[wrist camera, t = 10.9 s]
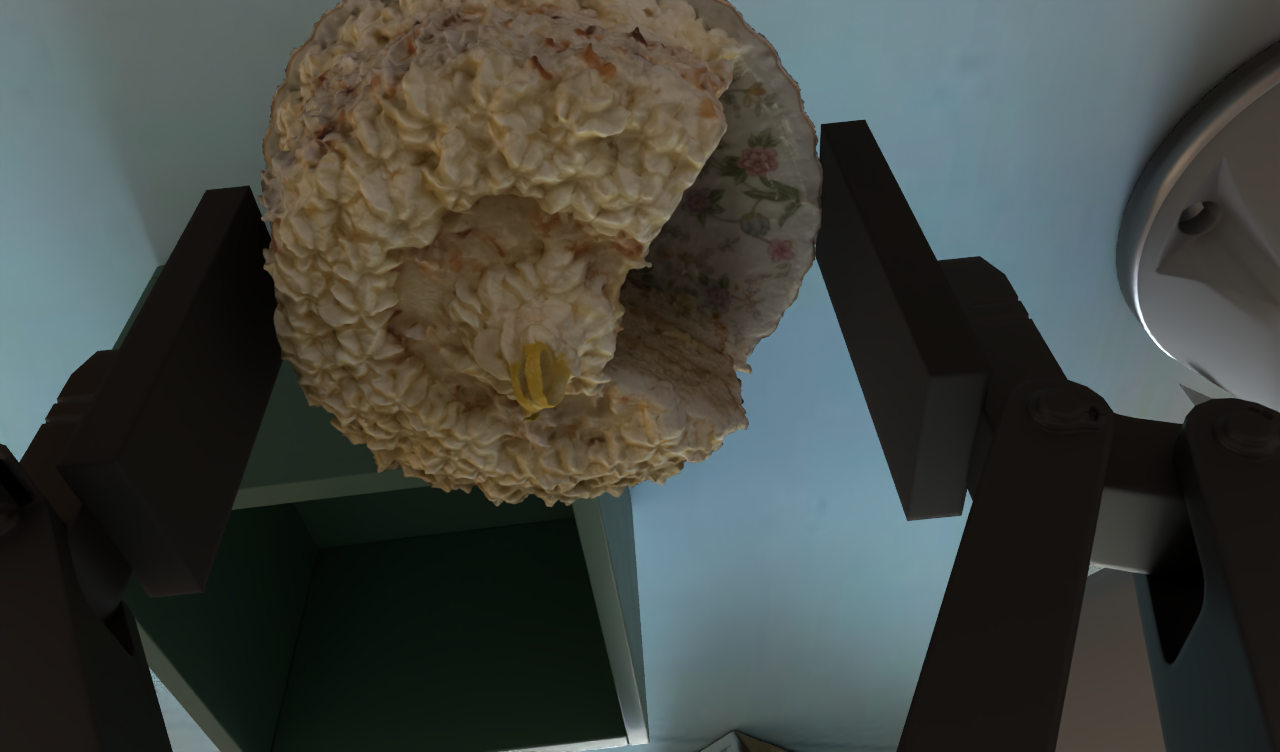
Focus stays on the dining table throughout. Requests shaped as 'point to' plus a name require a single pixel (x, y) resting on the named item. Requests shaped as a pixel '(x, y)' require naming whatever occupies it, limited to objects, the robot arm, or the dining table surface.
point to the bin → (399, 609)
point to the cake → (535, 233)
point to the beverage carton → (741, 744)
